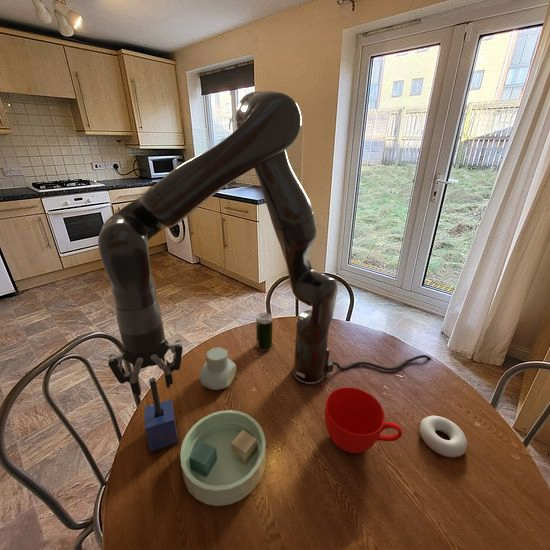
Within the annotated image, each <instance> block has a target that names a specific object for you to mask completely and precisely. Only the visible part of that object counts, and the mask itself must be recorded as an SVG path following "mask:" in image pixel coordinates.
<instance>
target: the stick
mask: <svg viewBox="0 0 550 550" xmlns="http://www.w3.org/2000/svg"><path fill="white" fill-rule="evenodd" d="M148 382H149V386H150V387H149V388H150V392H151V396H152V402H153V405H154V406H155V411H156V416H157V417H160V416H162V411H161V406H160V403H161V401H160V396H159V391H158V386H157V381H156V378H155V377H151V378H149V380H148Z"/></svg>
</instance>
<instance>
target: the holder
mask: <svg viewBox="0 0 550 550" xmlns="http://www.w3.org/2000/svg"><path fill="white" fill-rule="evenodd" d="M160 406H161V411H162V416H160V417H157V416H156V411H155V406H154V404H151V405H147V406H144V411H143V412H144V432H145V436H146V440H147V444H148V448H149V452H150V453H151V452H154V451H158V450H159V449H163V448H166V447H169V446H171V445H175V444H178V443H179V438H178V430H177V421H176V416H175V410H174V404H173V399H168V400H165V401H164V400H163V401H162V402H161V401H160Z"/></svg>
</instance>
